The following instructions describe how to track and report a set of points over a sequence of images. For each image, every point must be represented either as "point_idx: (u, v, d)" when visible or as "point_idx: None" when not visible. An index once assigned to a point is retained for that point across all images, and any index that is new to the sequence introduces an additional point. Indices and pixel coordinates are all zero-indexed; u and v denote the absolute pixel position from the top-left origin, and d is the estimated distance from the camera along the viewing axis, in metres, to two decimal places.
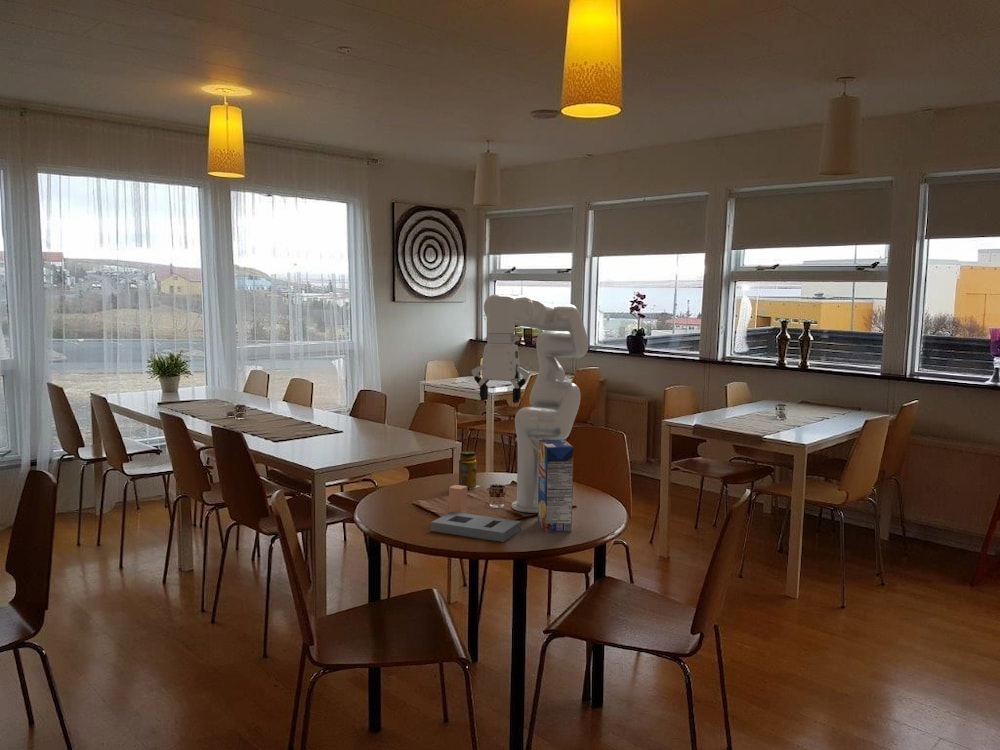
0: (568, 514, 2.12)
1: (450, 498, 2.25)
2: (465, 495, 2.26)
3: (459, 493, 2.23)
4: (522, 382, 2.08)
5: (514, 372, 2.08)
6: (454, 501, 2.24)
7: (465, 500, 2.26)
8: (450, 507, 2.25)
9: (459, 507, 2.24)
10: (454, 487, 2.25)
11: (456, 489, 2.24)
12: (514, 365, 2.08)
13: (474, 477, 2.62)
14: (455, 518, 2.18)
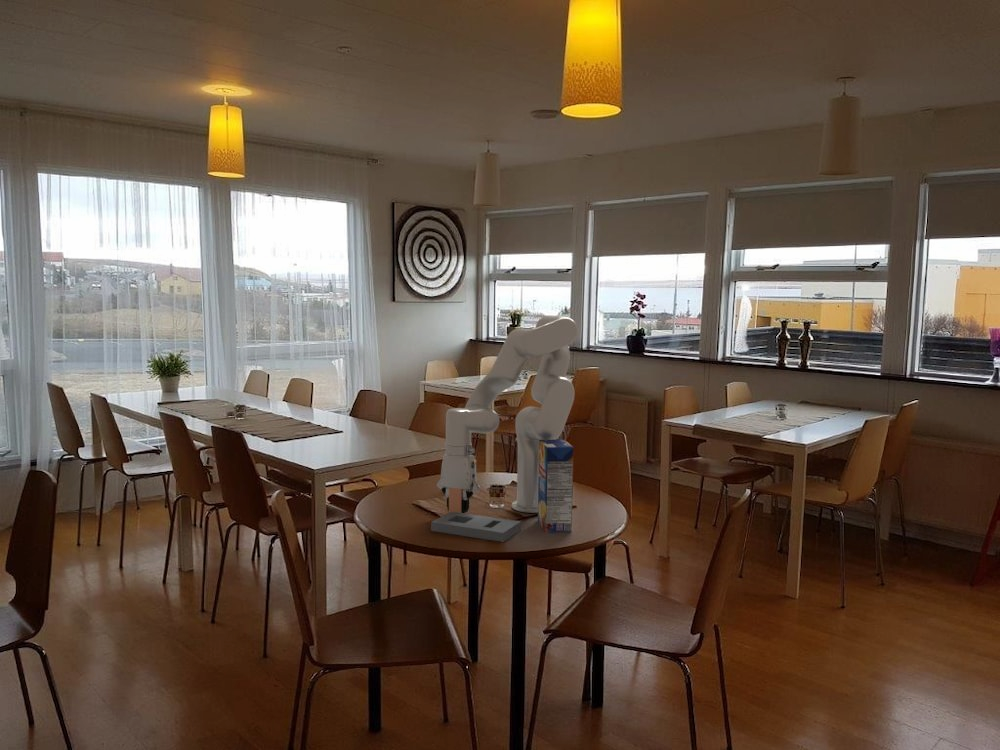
0: (568, 514, 2.12)
1: (450, 498, 2.25)
2: None
3: (459, 492, 2.23)
4: (470, 494, 2.23)
5: (470, 482, 2.22)
6: (454, 501, 2.24)
7: None
8: (450, 507, 2.25)
9: (459, 507, 2.24)
10: None
11: (456, 489, 2.24)
12: (470, 475, 2.22)
13: None
14: (455, 518, 2.18)
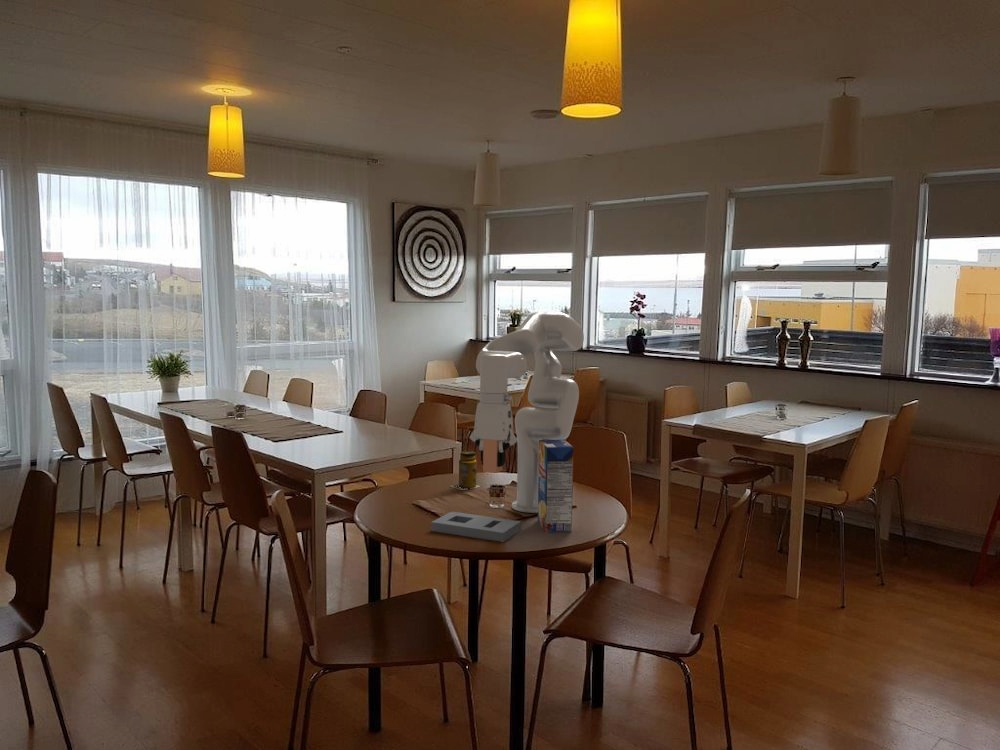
0: (568, 514, 2.12)
1: (484, 451, 2.08)
2: None
3: (494, 444, 2.06)
4: (506, 446, 2.06)
5: (507, 432, 2.05)
6: (488, 453, 2.07)
7: None
8: (484, 460, 2.08)
9: (494, 460, 2.07)
10: None
11: (491, 440, 2.07)
12: (507, 425, 2.05)
13: (474, 477, 2.62)
14: (455, 518, 2.18)
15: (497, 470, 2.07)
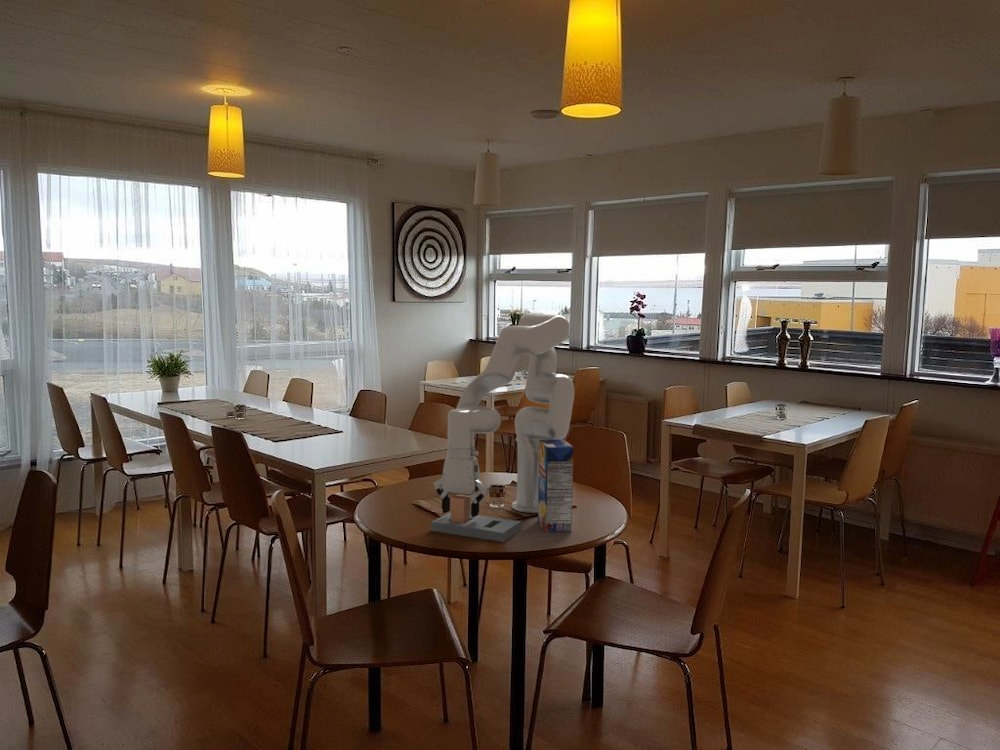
0: (568, 514, 2.12)
1: (452, 509, 2.13)
2: (468, 505, 2.14)
3: (461, 503, 2.12)
4: (480, 497, 2.11)
5: (473, 487, 2.10)
6: (456, 512, 2.13)
7: (468, 511, 2.15)
8: (452, 518, 2.13)
9: (461, 518, 2.12)
10: (456, 497, 2.13)
11: (458, 499, 2.12)
12: (473, 480, 2.10)
13: None
14: None
15: None
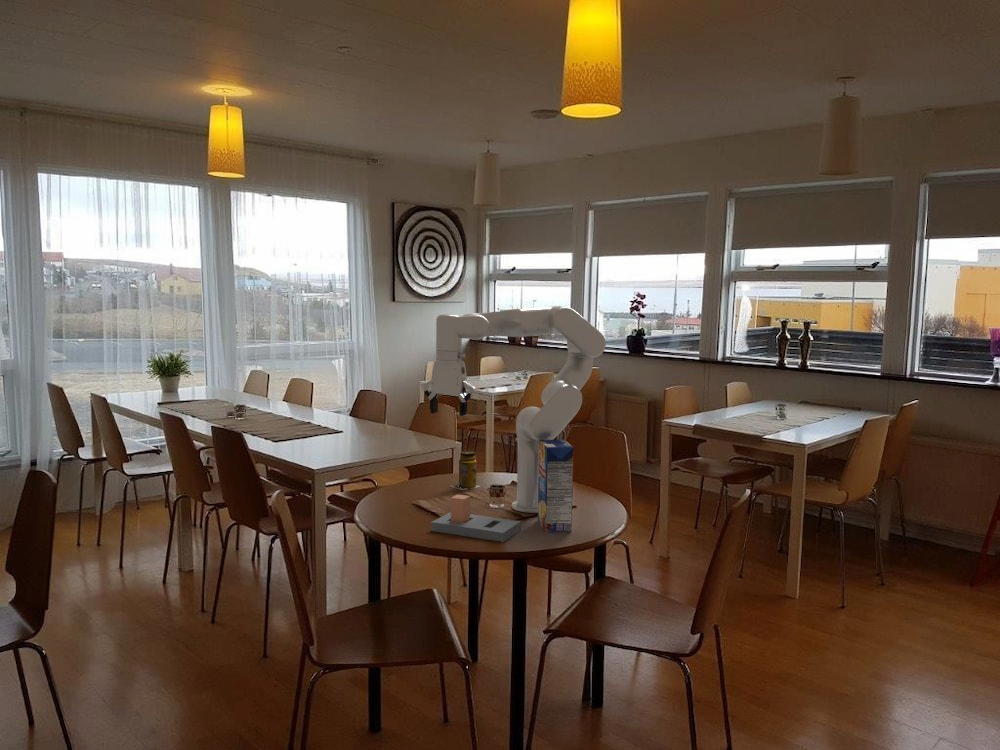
0: (568, 514, 2.12)
1: (452, 509, 2.13)
2: (468, 505, 2.14)
3: (461, 503, 2.12)
4: (468, 396, 2.22)
5: (460, 387, 2.22)
6: (456, 512, 2.13)
7: (468, 511, 2.15)
8: (452, 518, 2.13)
9: (461, 518, 2.12)
10: (456, 497, 2.13)
11: (458, 499, 2.12)
12: (460, 380, 2.22)
13: (474, 477, 2.62)
14: None
15: None
